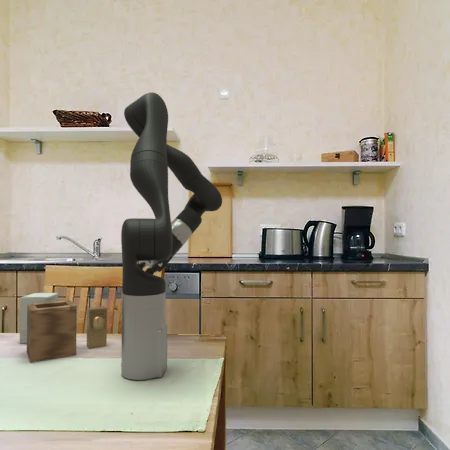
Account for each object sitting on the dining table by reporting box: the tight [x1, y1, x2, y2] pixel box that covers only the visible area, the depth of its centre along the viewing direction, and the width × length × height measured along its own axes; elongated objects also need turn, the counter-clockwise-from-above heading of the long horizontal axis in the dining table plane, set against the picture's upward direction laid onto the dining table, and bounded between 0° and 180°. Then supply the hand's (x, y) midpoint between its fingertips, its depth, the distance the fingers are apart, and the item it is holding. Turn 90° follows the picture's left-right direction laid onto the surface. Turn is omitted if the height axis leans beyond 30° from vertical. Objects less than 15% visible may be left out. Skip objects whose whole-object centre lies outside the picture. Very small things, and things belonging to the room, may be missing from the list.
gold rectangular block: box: [86, 305, 108, 350], centre depth 97 cm, size 4×3×10 cm, turn 123°
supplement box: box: [19, 292, 59, 344], centre depth 102 cm, size 7×7×13 cm
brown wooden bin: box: [26, 299, 78, 364], centre depth 91 cm, size 10×9×12 cm
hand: (136, 278), depth 103 cm, fingers open, 8 cm apart
